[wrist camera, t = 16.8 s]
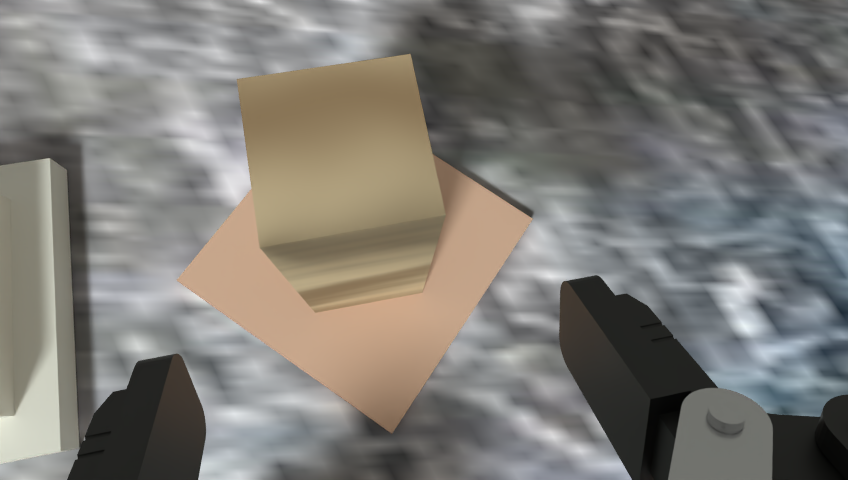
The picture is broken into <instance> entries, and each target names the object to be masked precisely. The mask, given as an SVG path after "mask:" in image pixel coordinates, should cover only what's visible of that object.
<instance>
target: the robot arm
mask: <svg viewBox="0 0 848 480" xmlns="http://www.w3.org/2000/svg"><path fill="white" fill-rule="evenodd" d="M559 339H560V347H561V351H562V355H563V358H564V361H565V363H566V365H567V367H568V369H569V371H570V372H571V374H572V376H573V378H574V379H575V381H576V383H577V385H578V386H579V388H580V390H581V391H582V393H583V395H584V397H585V398H586V400H587V402H588V404H589V405H590V407H591V409H592V411H593V412H594V414H595V416H596V418H597V419H598V421H599V423H600V425H601V426H602V428H603V430H604V431H605V433H606V435H607V437H608V438H609V440H610V442H611V444H612V445H613V447H614V449H615V451H616V452H617V454H618V456H619V458H620V459H621V461H622V463H623V465H624V466H625V468H626V470H627V472H628V473H629V475H630V477H631V478H632V480H848V395H841V396H837V397H834V398H832V399H830V400H829V401H828V402H827V403H826V404H825V406H824V408H823V411H822V414H821V417H810V416H792V415H776V414H768V413H766V412H765V411H764V410H763V408H762V407H760V406H759V405H758V404H757V403H756V402H754V401H753V400H751V399H750V398H748V397H746V396H744V395H742V394H740V393H737V392H734V391H731V390H727V389H721V388H718V387H717V386H716V385H715V384H714V382H713V381H712V380H711V379H710V378H709V377H708V375H707V374H706V373H705V372H704V371H703V370H702V368H701V367H700V366H699V365H698V364H697V363H696V361H695V360H694V359H693V358H692V357H691V356H690V355H689V353H688V352H687V351H686V350H685V349H684V348H683V346H682V345H681V344H680V343H679V342H678V341H677V339H674V338H673V335H672V334H671V332H670V331H669V330H668V329H667V328H666V327H665V325H663V326H662V322H661V321H660V320H659V319H658V317H657V316H656V315H655V314H654V313H653V312H652V310H651V309H650V308H649V307H648V306H647V305H645V304H644V303H642V302H640V301H638V300H637V299H635V298H633V297H631V296H630V295H628V294H621V295H616V296H615V295H614V293H613V292H612V291H611V290H610V288H609V287H608V286H607V285H606V283H605V282H604V281H603V280H602V279H601V277H599V276H597V275H595V276H590V277H585V278H579V279H574V280H569V281H564V282H563V283H562V285H561V290H560V329H559ZM205 437H206V423H205V416H204V411H203V408H202V405H201V403H200V400H199V398H198V395H197V393H196V390H195V388H194V385H193V383H192V380H191V378H190V375H189V373H188V370H187V368H186V366H185V363H184V361H183V359H182V357H181V356H180V355H179V354H173V355H167V356H162V357H157V358H152V359H146V360H141V361H138V362H137V363H136V365H135V367H134V370H133V373H132V375H131V378H130V381H129V384H128V386H127V389H125V390H120V391H115V392H113V393H112V394H111V395H110V396H109V397H108V398H107V399H106V401H105V402H104V403H103V404H102V405H101V406H100V408H99V409H98V410H97V411H96V412H95V413H94V415H93V418H92V420H91V423H90V425H89V427H88V430H87V432H86V435H85V441H83V442H82V445H81V447H80V450H79V452H78V455H77V456H78V459H77V460H75V462H74V464H73V467H72V469H71V472H70V474H69V477H68V479H67V480H198V477H199V471H200V466H201V460H202V455H203V449H204V443H205Z"/></svg>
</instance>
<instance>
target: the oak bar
mask: <svg viewBox="0 0 848 480" xmlns="http://www.w3.org/2000/svg"><path fill="white" fill-rule="evenodd" d="M237 84H238V91H239V99H240V106H241V113H242V121H243V128H244V136H245V143H246V150H247V158H248V165H249V173H250V180H251V188H252V195H253V202H254V210H255V217H256V225H257V232H258V240H259V247H260V249H261V250H262V251H263V252H264V253H265V255H266V256H267V257H268V258H269V259H270V261H271V262H272V263H273V264H274V265H275V266H276V268H277V269H278V270H279V271H280V272H281V273H282V275H283V276H284V277H285V278H286V279H287V280H288V282H289V283H290V284H291V285H292V286H293V287H294V289H295V290H296V291H297V292H298V293H299V294H300V296H301V297H302V298H303V299H304V300H305V301H306V303H307V304H308V305H309V306H310V307H311V309H312V310H313V311H314V312H315V313H318V312H323V311H328V310H333V309H339V308H344V307H349V306H355V305H360V304H365V303H370V302H376V301H381V300H386V299H392V298H397V297H402V296H408V295H413V294H418V293H422V292H423V289H424V286H425V282H426V279H427V276H428V272H429V269H430V266H431V262H432V259H433V256H434V253H435V249H436V246H437V243H438V239H439V236H440V233H441V229H442V226H443V223H444V220H445V216H446V213H445V209H444V204H443V200H442V195H441V190H440V186H439V181H438V177H437V172H436V168H435V163H434V158H433V154H432V149H431V145H430V140H429V136H428V131H427V127H426V122H425V117H424V113H423V108H422V104H421V99H420V95H419V90H418V85H417V81H416V76H415V72H414V67H413V63H412V58H411V54H406V55H399V56H393V57H386V58H379V59H372V60H365V61H358V62H351V63H345V64H338V65H331V66H324V67H317V68H310V69H303V70H297V71H290V72H283V73H276V74H269V75H262V76H255V77H248V78H242V79H237Z"/></svg>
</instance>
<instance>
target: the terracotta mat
mask: <svg viewBox="0 0 848 480" xmlns="http://www.w3.org/2000/svg"><path fill="white" fill-rule="evenodd" d="M433 158H434V163H435V168H436V172H437V177H438V181H439V186H440V190H441V195H442V200H443V204H444V209H445V213H446V216H445V220H444V223H443V226H442V229H441V233H440V236H439V239H438V243H437V246H436V249H435V253H434V256H433V259H432V262H431V266H430V269H429V272H428V276H427V279H426V282H425V286H424V289H423V292H422V293H418V294H413V295H408V296H402V297H397V298H392V299H386V300H381V301H376V302H370V303H365V304H360V305H355V306H349V307H344V308H339V309H333V310H328V311H323V312H318V313H315V312H314V311H313V310H312V309H311V307H310V306H309V305H308V304H307V303H306V301H305V300H304V299H303V298H302V297H301V296H300V294H299V293H298V292H297V291H296V290H295V289H294V287H293V286H292V285H291V284H290V283H289V282H288V280H287V279H286V278H285V277H284V276H283V275H282V273H281V272H280V271H279V270H278V269H277V268H276V266H275V265H274V264H273V263H272V262H271V261H270V259H269V258H268V257H267V256H266V255H265V253H264V252H263V251H262V250H261V249H260V247H259V240H258V232H257V225H256V217H255V210H254V202H253V195H252V189H251V190H250V191H249V193H248V194H247V195H246V196H245V197H244V199H243V200H242V201H241V202H240V204H239V205H238V206H237V207H236V208H235V210H234V211H233V212H232V213H231V215H230V216H229V217H228V218H227V219H226V221H225V222H224V223H223V224H222V226H221V227H220V228H219V229H218V230H217V232H216V233H215V234H214V235H213V237H212V238H211V239H210V240H209V241H208V243H207V244H206V245H205V246H204V248H203V249H202V250H201V251H200V252H199V254H198V255H197V256H196V257H195V259H194V260H193V261H192V262H191V263H190V265H189V266H188V267H187V268H186V270H185V271H184V272H183V273H182V274H181V276H180V277H179V278H178V279H177V281H178V282H180V283H181V284H182V285H184V286H185V287H187V288H188V289H189V290H191V291H192V292H194V293H195V294H196V295H198V296H199V297H201V298H202V299H203V300H205V301H206V302H208V303H209V304H210V305H212V306H213V307H215V308H216V309H217V310H219V311H220V312H222V313H223V314H225V315H226V316H227V317H229V318H230V319H232V320H233V321H234V322H236V323H237V324H239V325H240V326H241V327H243V328H244V329H246V330H247V331H248V332H250V333H251V334H253V335H254V336H255V337H257V338H258V339H260V340H261V341H262V342H264V343H265V344H267V345H268V346H269V347H271V348H272V349H274V350H275V351H276V352H278V353H279V354H281V355H282V356H283V357H285V358H286V359H288V360H289V361H290V362H292V363H293V364H295V365H296V366H298V367H299V368H300V369H302V370H303V371H305V372H306V373H307V374H309V375H310V376H312V377H313V378H314V379H316V380H317V381H319V382H320V383H321V384H323V385H324V386H326V387H327V388H328V389H330V390H331V391H333V392H334V393H335V394H337V395H338V396H340V397H341V398H342V399H344V400H345V401H347V402H348V403H349V404H351V405H352V406H354V407H355V408H356V409H358V410H359V411H361V412H362V413H363V414H365V415H366V416H368V417H369V418H371V419H372V420H373V421H375V422H376V423H378V424H379V425H380V426H382V427H383V428H385V429H386V430H387V431H389V432H390V433H393V432H394V430H395V428H396V427H397V425H398V424H399V422H400V421H401V419H402V418H403V416H404V415H405V413H406V412H407V410H408V409H409V407H410V406H411V404H412V403H413V401H414V399H415V398H416V396H417V395H418V393H419V392H420V390H421V389H422V387H423V386H424V384H425V383H426V381H427V380H428V378H429V377H430V375H431V374H432V372H433V371H434V369H435V367H436V366H437V364H438V363H439V361H440V360H441V358H442V357H443V355H444V354H445V352H446V351H447V349H448V348H449V346H450V345H451V343H452V342H453V340H454V338H455V337H456V335H457V334H458V332H459V331H460V329H461V328H462V326H463V325H464V323H465V322H466V320H467V319H468V317H469V316H470V314H471V313H472V311H473V309H474V308H475V306H476V305H477V303H478V302H479V300H480V299H481V297H482V296H483V294H484V293H485V291H486V290H487V288H488V287H489V285H490V284H491V282H492V281H493V279H494V277H495V276H496V274H497V273H498V271H499V270H500V268H501V267H502V265H503V264H504V262H505V261H506V259H507V258H508V256H509V255H510V253H511V252H512V250H513V248H514V247H515V245H516V244H517V242H518V241H519V239H520V238H521V236H522V235H523V233H524V232H525V230H526V229H527V227H528V226H529V224H530V223H531V221H532V218H531V217H529V216H528V215H526V214H524V213H523V212H521V211H520V210H518V209H517V208H515V207H514V206H512V205H511V204H509V203H507V202H506V201H504V200H503V199H501V198H500V197H498V196H497V195H495V194H494V193H492V192H490V191H489V190H487V189H486V188H484V187H483V186H481V185H480V184H478V183H477V182H475V181H474V180H472V179H470V178H469V177H467V176H466V175H464V174H463V173H461V172H460V171H458V170H457V169H455V168H453V167H452V166H450V165H449V164H447V163H446V162H444V161H443V160H441V159H440V158H438V157H437V156H435V155H433Z"/></svg>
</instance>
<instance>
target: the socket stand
mask: <svg viewBox="0 0 848 480" xmlns="http://www.w3.org/2000/svg"><path fill="white" fill-rule="evenodd" d="M74 449H79V428H78V406H77V384H76V361H75V339H74V317H73V294H72V272H71V250H70V227H69V205H68V182H67V170H66V169H65V168H63V167H62V166H60V165H59V164H57V163H56V162H55V161H53V160H52V159H50V158H47V159H40V160H33V161H26V162H20V163H13V164H6V165H0V464H3V463H8V462H13V461H18V460H23V459H28V458H33V457H38V456H43V455H48V454H53V453H58V452H63V451H69V450H74Z"/></svg>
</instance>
